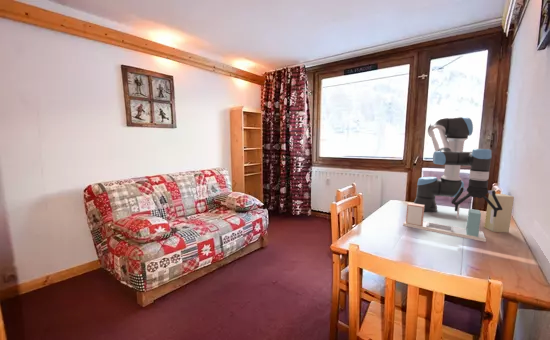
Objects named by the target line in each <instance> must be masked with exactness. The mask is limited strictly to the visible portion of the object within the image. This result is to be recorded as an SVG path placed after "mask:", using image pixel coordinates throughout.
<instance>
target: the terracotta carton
mask: <svg viewBox="0 0 550 340" xmlns="http://www.w3.org/2000/svg"><path fill="white" fill-rule="evenodd" d="M424 207H425V205H421V204H415V203H414V202H408V203H407V205H406V217H405V221H406V223H408V224H413V225H418V226H423V221H424V216H425V215H424V214H425V211H424Z"/></svg>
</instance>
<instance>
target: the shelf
mask: <svg viewBox="0 0 550 340" xmlns="http://www.w3.org/2000/svg"><path fill="white" fill-rule="evenodd" d="M402 224H403V225H402V226H404V227H408V228H414V229H419V230H423V231H430V232H433V233H439V234H445V235H449V236H453V237H460V238H464V239H470V240H475V241H481V242H485V243H486V242H487V238H486V237H485V234H484V231H481V230H479V234H478V237H476V236H471V235H467V233H466V228H463V227H458V226H452V225H446V224H441V223H435V222H430V221H424V220H423V226H418V225H413V224H408V223H406V220H405V221H404V222H403V223H402Z"/></svg>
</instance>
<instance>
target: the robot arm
mask: <svg viewBox="0 0 550 340" xmlns="http://www.w3.org/2000/svg"><path fill="white" fill-rule="evenodd" d="M473 132H474V125H473V121H472V119H471V118H470V117H463V116H462V117H461V116H458V117H440V118H437V119H435V120H433V121H432V122H431V123H430V124H429V126H428V127H427V135H428V136H429V137H430V138H431V141H432V145H433V148H434V152H433V154H432V163H433V164H435V165H440V166H444V172H443V175H441V176H440V178H439V179H438V177H437V176H422V177H419V178H418V180H417V187H416V196H415V198H414V201H413V203H415V204H421V205H425V207H424V212H426V213H427V212H428V213H435V212H437V211H438V206H437V202H436V197H448V198H453V199H452V200H451V202H450V204H452V205H454V212H456V219H459V216H460V207H461V205H460V204H462V203H463V202H465V201H467V199H469V198H477V199H482V198H483V199H484V200H485V202H487V204H489V205H490V206H491V207H492V208H493V209H494V210H492V209H491V217H490V223H492V224H493V217H496V215H497V211H498V210H502V207H501V205H500V203H499V201H498V199H497V197H496V194H497V193H496V190H494V189H491V190H488V187H489V186H488V185H489V181H488V180H489V177H490V169H491V161H492V158H493V157H492V153H493V152H492V150H491V148H490V149H489V148H474V149H472V151H464V147H465V146H464V144H465V141H466V140H467V139H468V138H469V137H470V136H472V134H473ZM461 166H463V167H466V166H467V167H470V169H469V179H468V184H467V188H466V187H465V182H464V181H463V180H462V178H461V177H460V173H461ZM465 192H467V194H466V195H464V196H463V197H462V198H460V197H461V195H462V194H463V193H465ZM489 193H490V195H492V196H493V198H494V200H495V202H496V204H497V206H498V207H495V206H494V205H493V204H492V203H491V201H490V200H489V199H488V197H487V196H486V195H488V194H489ZM459 198H460V199H459ZM458 199H459V200H458ZM457 200H458V201H457Z"/></svg>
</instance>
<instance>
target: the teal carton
mask: <svg viewBox="0 0 550 340" xmlns="http://www.w3.org/2000/svg"><path fill="white" fill-rule="evenodd" d="M481 218H482V213H481V211H480V210H479V209H473V208H468V213H467V220H466V228H465V229H466V233H467V235H471V236H476V237H478V234H479V231H480V227H481V225H480V224H481V220H482V219H481Z"/></svg>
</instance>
